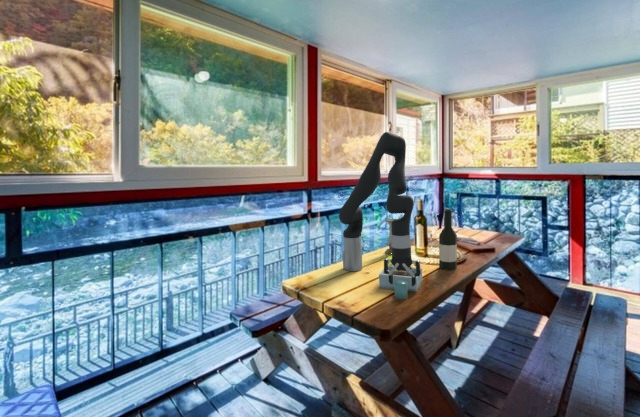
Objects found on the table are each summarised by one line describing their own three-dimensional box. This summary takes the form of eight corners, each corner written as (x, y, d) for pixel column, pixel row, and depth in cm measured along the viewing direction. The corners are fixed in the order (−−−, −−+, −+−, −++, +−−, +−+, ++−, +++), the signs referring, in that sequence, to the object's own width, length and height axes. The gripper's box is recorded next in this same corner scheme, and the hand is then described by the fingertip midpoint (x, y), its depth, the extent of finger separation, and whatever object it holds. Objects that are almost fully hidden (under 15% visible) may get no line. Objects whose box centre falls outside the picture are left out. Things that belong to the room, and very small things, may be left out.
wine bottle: (458, 270, 165) (458, 209, 161) (440, 270, 167) (440, 210, 163) (455, 265, 173) (455, 207, 169) (438, 265, 175) (437, 207, 171)
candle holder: (388, 255, 197) (387, 221, 195) (382, 252, 206) (381, 219, 203) (402, 254, 199) (401, 220, 196) (396, 250, 207) (395, 218, 205)
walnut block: (392, 284, 149) (392, 270, 148) (396, 278, 155) (396, 266, 154) (405, 285, 146) (405, 272, 146) (408, 280, 153) (408, 267, 152)
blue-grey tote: (379, 287, 148) (379, 274, 147) (387, 277, 160) (387, 265, 160) (416, 292, 141) (416, 278, 140) (422, 281, 153) (422, 268, 153)
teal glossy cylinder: (393, 298, 136) (393, 284, 135) (396, 293, 140) (396, 280, 139) (406, 300, 134) (405, 285, 133) (408, 295, 138) (408, 281, 137)
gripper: (381, 246, 134) (382, 286, 136) (418, 248, 128) (419, 289, 130) (385, 242, 141) (387, 280, 143) (421, 244, 135) (422, 283, 136)
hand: (402, 284), depth 136 cm, fingers open, 8 cm apart
